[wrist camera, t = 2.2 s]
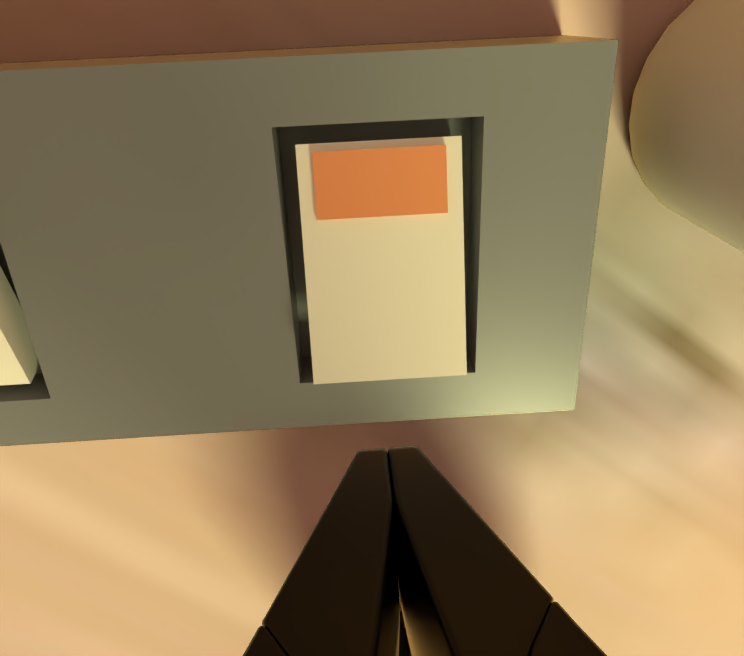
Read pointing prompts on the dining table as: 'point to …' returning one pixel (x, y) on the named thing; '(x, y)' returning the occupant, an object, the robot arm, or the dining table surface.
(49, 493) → the dining table surface
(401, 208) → the rocker
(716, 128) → the cup
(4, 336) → the rocker
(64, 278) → the grey rocker switch panel
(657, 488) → the dining table surface
